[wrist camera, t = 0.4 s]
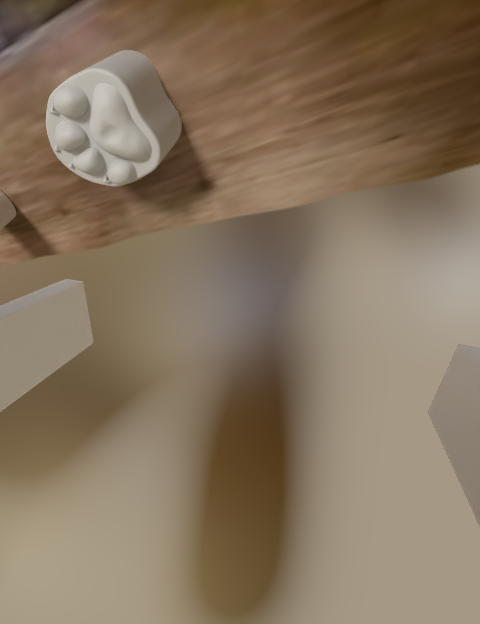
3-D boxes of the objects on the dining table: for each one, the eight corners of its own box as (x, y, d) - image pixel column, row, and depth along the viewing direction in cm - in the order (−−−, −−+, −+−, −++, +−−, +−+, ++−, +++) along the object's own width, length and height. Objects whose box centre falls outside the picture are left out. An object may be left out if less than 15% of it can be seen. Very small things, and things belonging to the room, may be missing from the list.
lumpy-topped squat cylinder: (191, 139, 37) (167, 172, 32) (116, 173, 43) (86, 206, 37) (138, 34, 30) (96, 55, 25) (57, 91, 36) (9, 118, 30)
